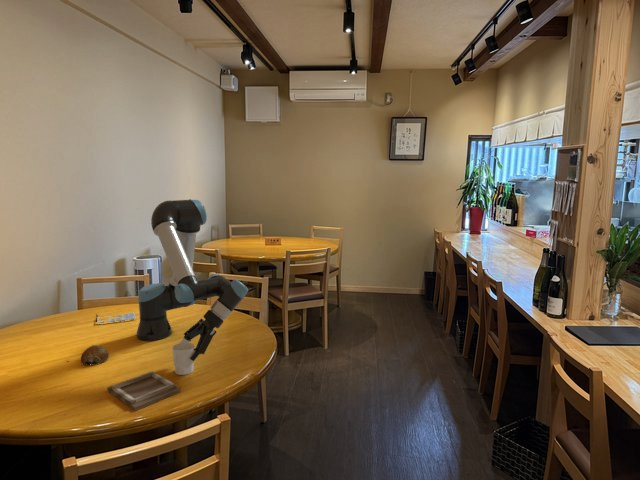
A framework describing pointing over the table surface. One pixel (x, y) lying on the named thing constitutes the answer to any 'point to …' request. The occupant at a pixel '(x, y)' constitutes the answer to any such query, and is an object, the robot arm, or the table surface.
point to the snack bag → (127, 317)
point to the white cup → (182, 358)
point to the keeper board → (143, 390)
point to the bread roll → (94, 355)
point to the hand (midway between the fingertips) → (179, 359)
